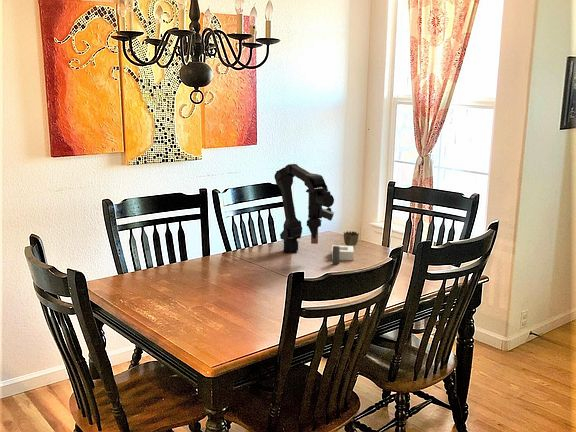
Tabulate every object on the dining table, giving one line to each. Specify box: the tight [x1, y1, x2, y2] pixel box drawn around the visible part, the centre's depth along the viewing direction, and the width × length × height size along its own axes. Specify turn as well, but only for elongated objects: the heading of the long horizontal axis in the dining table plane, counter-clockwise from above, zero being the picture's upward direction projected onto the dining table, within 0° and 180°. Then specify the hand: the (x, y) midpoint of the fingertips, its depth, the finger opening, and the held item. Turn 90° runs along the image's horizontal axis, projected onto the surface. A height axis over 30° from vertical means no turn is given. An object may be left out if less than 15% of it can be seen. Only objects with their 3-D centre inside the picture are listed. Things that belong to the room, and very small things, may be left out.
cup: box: [343, 231, 360, 249], centre depth 288 cm, size 8×7×8 cm
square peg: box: [310, 228, 319, 245], centre depth 266 cm, size 3×3×8 cm
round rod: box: [332, 245, 341, 266], centre depth 264 cm, size 3×3×8 cm
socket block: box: [331, 244, 355, 261], centre depth 275 cm, size 10×10×4 cm
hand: (314, 237), depth 266 cm, fingers closed on square peg, 3 cm apart
